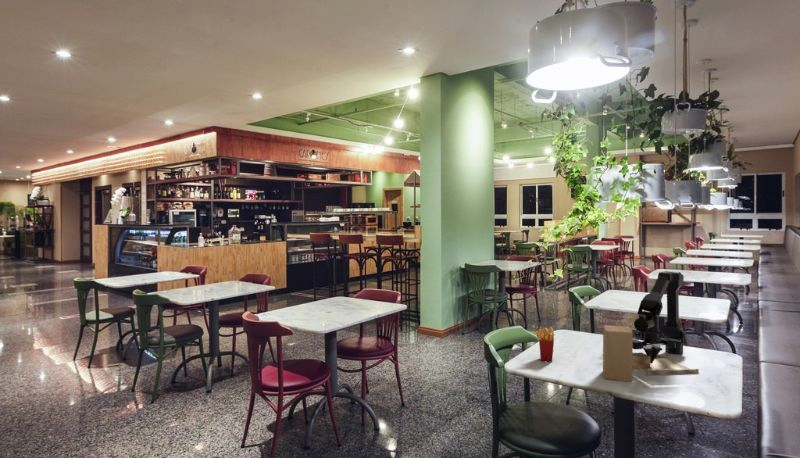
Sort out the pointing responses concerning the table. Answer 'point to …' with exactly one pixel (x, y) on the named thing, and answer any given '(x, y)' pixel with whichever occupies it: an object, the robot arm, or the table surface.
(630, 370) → the wooden block
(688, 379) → the table surface
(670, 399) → the table surface
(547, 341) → the french fries
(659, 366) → the trap board
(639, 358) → the walnut block
